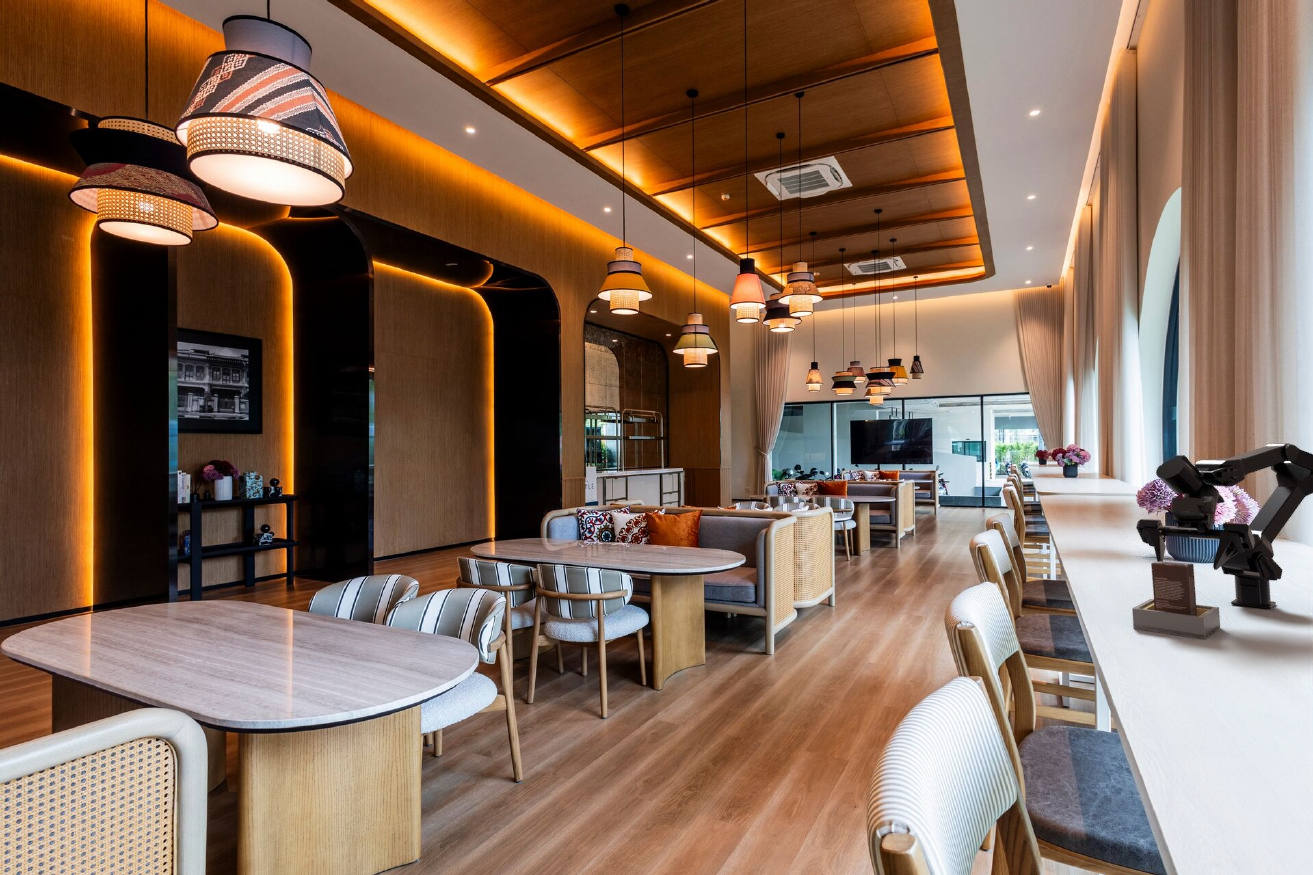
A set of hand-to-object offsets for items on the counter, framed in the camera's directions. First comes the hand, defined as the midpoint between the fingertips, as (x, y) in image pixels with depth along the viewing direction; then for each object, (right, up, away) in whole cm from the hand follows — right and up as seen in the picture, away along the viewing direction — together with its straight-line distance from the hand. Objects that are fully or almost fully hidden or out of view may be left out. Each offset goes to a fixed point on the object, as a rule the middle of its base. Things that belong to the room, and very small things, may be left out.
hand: (1186, 566), depth 136 cm
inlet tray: (-6, -11, -5) cm, 14 cm away
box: (-6, -11, -5) cm, 13 cm away
